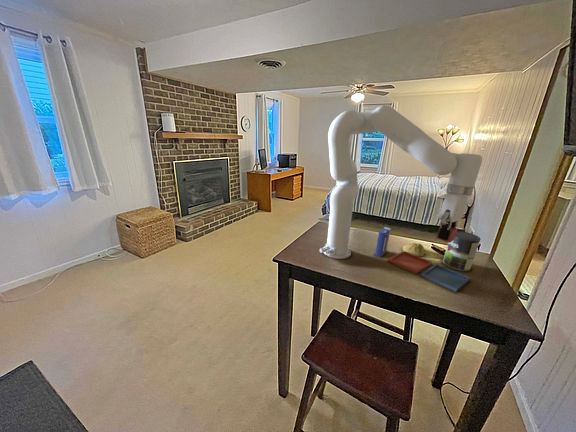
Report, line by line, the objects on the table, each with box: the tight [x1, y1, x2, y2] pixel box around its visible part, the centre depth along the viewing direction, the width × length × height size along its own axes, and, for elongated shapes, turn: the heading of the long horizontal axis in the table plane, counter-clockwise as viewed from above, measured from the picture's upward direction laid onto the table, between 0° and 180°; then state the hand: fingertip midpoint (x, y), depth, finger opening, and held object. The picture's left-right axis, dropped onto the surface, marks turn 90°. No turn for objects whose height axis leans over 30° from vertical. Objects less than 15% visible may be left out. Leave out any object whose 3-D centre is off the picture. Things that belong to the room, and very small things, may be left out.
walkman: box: [374, 226, 392, 258], centre depth 110 cm, size 8×3×12 cm, turn 141°
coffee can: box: [442, 230, 481, 271], centre depth 102 cm, size 10×10×14 cm
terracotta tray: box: [387, 250, 432, 274], centre depth 104 cm, size 13×12×2 cm
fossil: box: [402, 242, 427, 257], centre depth 114 cm, size 11×6×10 cm
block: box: [436, 226, 458, 243], centre depth 90 cm, size 4×4×4 cm
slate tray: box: [420, 263, 471, 292], centre depth 93 cm, size 13×12×2 cm
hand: (445, 236), depth 91 cm, fingers closed on block, 4 cm apart
